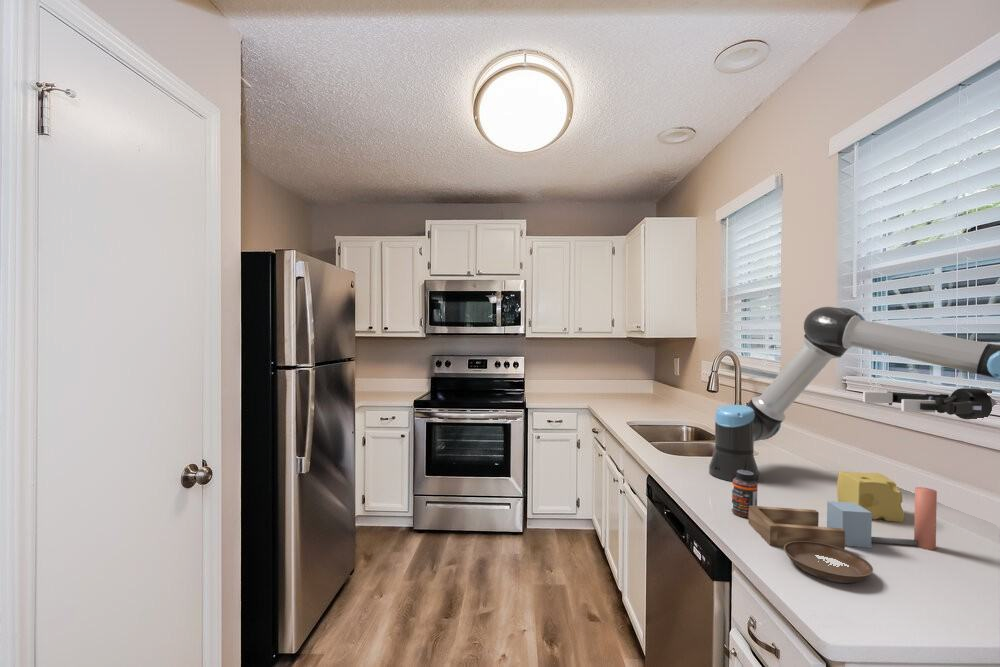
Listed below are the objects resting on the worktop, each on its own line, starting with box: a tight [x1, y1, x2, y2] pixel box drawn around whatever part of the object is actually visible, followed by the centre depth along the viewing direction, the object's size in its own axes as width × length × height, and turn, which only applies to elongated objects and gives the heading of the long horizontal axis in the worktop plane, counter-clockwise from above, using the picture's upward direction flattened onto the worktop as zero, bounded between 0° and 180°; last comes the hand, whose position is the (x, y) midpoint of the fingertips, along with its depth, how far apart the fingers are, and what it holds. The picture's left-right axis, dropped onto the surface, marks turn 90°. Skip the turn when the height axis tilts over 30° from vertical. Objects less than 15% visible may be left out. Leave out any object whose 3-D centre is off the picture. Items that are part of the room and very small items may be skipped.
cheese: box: [836, 470, 905, 523], centre depth 121 cm, size 10×11×10 cm
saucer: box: [783, 541, 874, 584], centre depth 92 cm, size 15×15×3 cm
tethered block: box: [826, 486, 938, 551], centre depth 103 cm, size 21×6×13 cm, turn 82°
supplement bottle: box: [731, 470, 758, 519], centre depth 119 cm, size 6×6×11 cm
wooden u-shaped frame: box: [747, 505, 846, 550], centre depth 106 cm, size 16×12×4 cm
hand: (881, 400), depth 111 cm, fingers open, 13 cm apart
